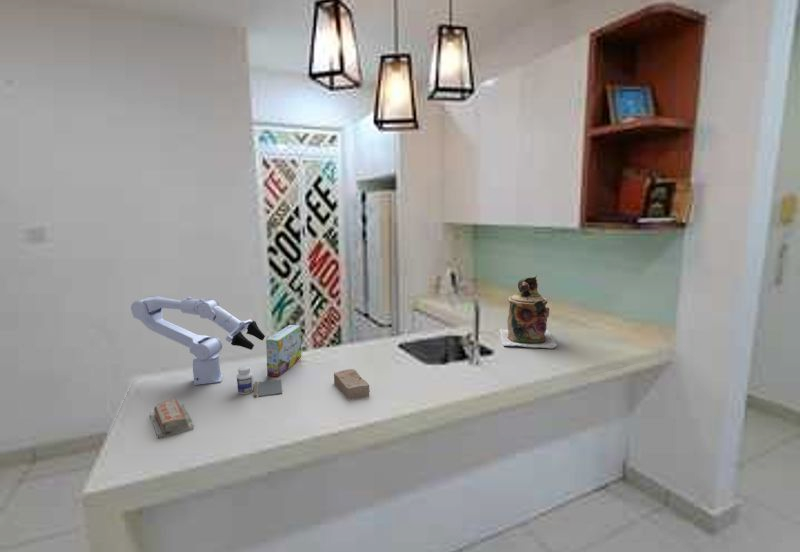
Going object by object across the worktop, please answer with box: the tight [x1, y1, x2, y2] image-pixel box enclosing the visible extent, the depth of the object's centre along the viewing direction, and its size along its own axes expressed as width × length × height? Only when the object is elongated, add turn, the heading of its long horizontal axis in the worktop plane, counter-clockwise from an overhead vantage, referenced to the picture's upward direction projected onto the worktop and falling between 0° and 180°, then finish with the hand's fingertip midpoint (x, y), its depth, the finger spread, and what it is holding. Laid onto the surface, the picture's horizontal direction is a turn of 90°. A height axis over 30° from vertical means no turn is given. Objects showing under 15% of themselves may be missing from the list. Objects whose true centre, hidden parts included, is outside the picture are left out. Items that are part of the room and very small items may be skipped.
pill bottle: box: [236, 365, 254, 395], centre depth 161 cm, size 5×5×9 cm
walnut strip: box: [253, 381, 258, 398], centre depth 163 cm, size 1×12×1 cm, turn 17°
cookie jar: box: [499, 274, 558, 349], centre depth 215 cm, size 25×25×32 cm
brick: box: [333, 368, 370, 400], centre depth 164 cm, size 17×8×5 cm, turn 26°
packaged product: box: [149, 398, 195, 440], centre depth 140 cm, size 18×5×10 cm
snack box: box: [265, 324, 302, 378], centre depth 184 cm, size 21×6×15 cm, turn 168°
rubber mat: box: [258, 379, 283, 398], centre depth 165 cm, size 8×12×1 cm, turn 17°
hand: (258, 342), depth 167 cm, fingers open, 7 cm apart
